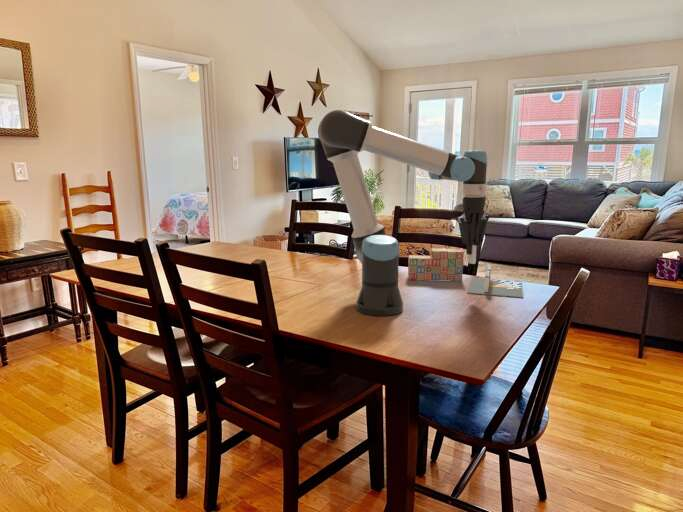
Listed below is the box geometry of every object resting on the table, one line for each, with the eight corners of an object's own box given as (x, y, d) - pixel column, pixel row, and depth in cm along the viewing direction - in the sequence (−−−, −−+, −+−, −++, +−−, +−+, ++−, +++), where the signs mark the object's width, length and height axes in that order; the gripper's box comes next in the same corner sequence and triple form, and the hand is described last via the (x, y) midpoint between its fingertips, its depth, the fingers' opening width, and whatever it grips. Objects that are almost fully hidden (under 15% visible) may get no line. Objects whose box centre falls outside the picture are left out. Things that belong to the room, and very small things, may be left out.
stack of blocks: (408, 280, 192) (409, 250, 190) (407, 277, 198) (408, 247, 196) (462, 281, 190) (464, 251, 188) (459, 277, 196) (461, 248, 194)
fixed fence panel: (489, 286, 183) (490, 269, 182) (485, 285, 183) (486, 268, 182) (490, 280, 191) (491, 264, 190) (486, 280, 192) (487, 263, 191)
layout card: (522, 298, 167) (523, 296, 167) (467, 293, 173) (467, 292, 173) (521, 282, 188) (521, 281, 188) (471, 278, 194) (471, 277, 194)
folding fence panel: (488, 292, 172) (489, 275, 171) (483, 292, 172) (484, 275, 171) (489, 284, 182) (490, 269, 181) (484, 284, 183) (485, 268, 182)
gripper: (466, 197, 158) (464, 267, 163) (496, 195, 163) (493, 263, 168) (451, 196, 165) (449, 263, 169) (481, 194, 170) (478, 259, 175)
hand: (471, 263), depth 169 cm, fingers closed
